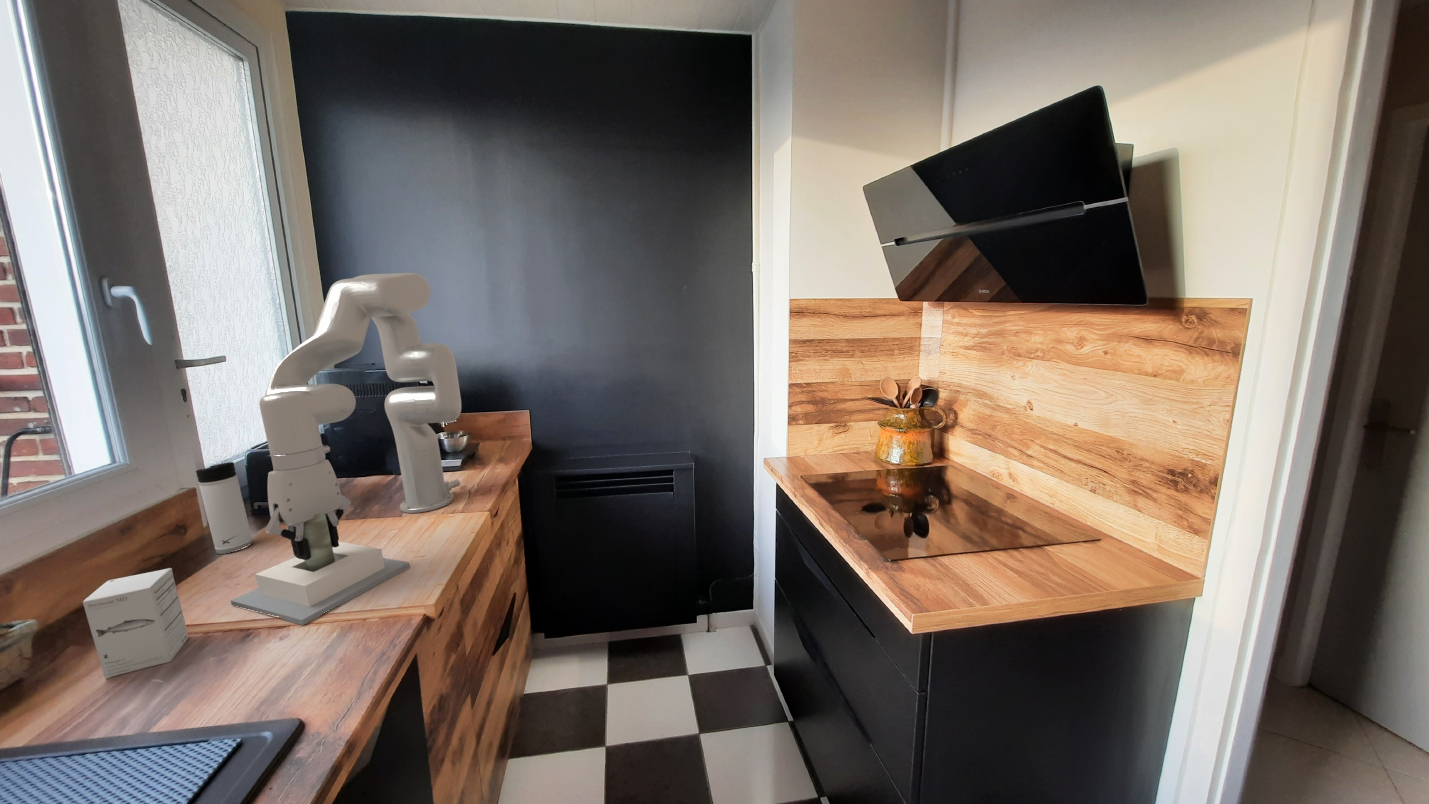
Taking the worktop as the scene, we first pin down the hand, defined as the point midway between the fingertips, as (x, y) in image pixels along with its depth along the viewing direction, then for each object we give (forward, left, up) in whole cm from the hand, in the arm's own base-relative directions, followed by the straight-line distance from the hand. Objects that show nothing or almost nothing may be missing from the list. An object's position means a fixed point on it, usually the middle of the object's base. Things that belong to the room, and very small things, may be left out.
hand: (318, 551), depth 99 cm
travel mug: (-5, -39, -7) cm, 40 cm away
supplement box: (+23, -5, -7) cm, 25 cm away
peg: (0, 0, -4) cm, 4 cm away
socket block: (0, 0, -7) cm, 7 cm away
